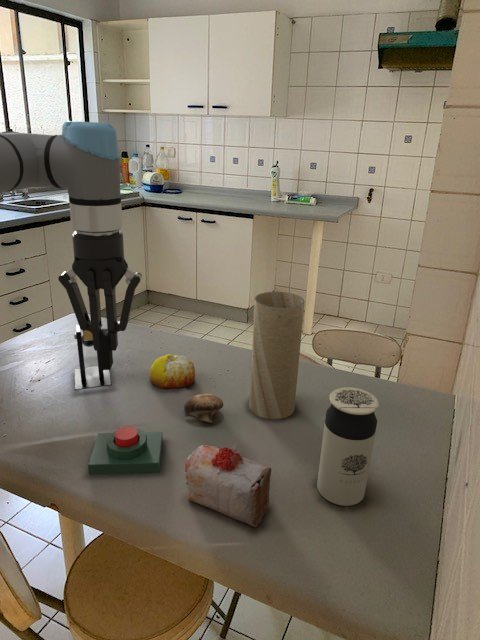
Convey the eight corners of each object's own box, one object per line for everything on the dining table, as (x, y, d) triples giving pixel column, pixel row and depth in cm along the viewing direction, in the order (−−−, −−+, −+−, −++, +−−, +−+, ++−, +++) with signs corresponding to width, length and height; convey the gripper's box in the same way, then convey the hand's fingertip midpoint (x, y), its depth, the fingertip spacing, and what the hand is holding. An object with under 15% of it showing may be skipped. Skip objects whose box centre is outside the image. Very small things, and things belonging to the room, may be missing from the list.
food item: (177, 502, 75) (176, 452, 71) (203, 472, 82) (203, 426, 78) (253, 535, 69) (257, 483, 66) (274, 500, 76) (278, 451, 72)
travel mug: (315, 471, 83) (326, 384, 76) (360, 476, 82) (375, 388, 75) (318, 504, 76) (330, 411, 69) (367, 509, 75) (384, 415, 68)
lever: (82, 348, 115) (80, 333, 116) (97, 346, 116) (95, 332, 117) (80, 342, 103) (79, 326, 103) (97, 341, 104) (95, 325, 104)
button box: (89, 474, 80) (86, 456, 79) (99, 442, 88) (97, 424, 87) (159, 472, 81) (158, 454, 80) (162, 441, 89) (162, 423, 88)
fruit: (179, 398, 103) (170, 365, 101) (145, 396, 109) (135, 365, 107) (207, 376, 112) (198, 345, 110) (174, 376, 118) (165, 347, 116)
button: (113, 448, 81) (112, 439, 81) (117, 434, 85) (116, 426, 84) (136, 447, 82) (136, 439, 81) (139, 433, 85) (138, 425, 85)
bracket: (74, 373, 113) (68, 320, 107) (108, 369, 115) (104, 317, 110) (75, 394, 104) (68, 338, 99) (112, 389, 106) (107, 334, 101)
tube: (274, 389, 109) (282, 288, 99) (303, 410, 101) (315, 302, 92) (240, 402, 103) (244, 296, 94) (268, 424, 96) (276, 312, 86)
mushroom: (217, 421, 90) (211, 390, 92) (181, 429, 93) (175, 398, 94) (231, 419, 98) (225, 390, 99) (197, 426, 100) (192, 398, 101)
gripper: (143, 227, 75) (147, 356, 84) (60, 224, 74) (74, 356, 83) (137, 237, 68) (143, 377, 77) (46, 234, 67) (62, 377, 76)
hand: (107, 366), depth 80 cm, fingers closed
